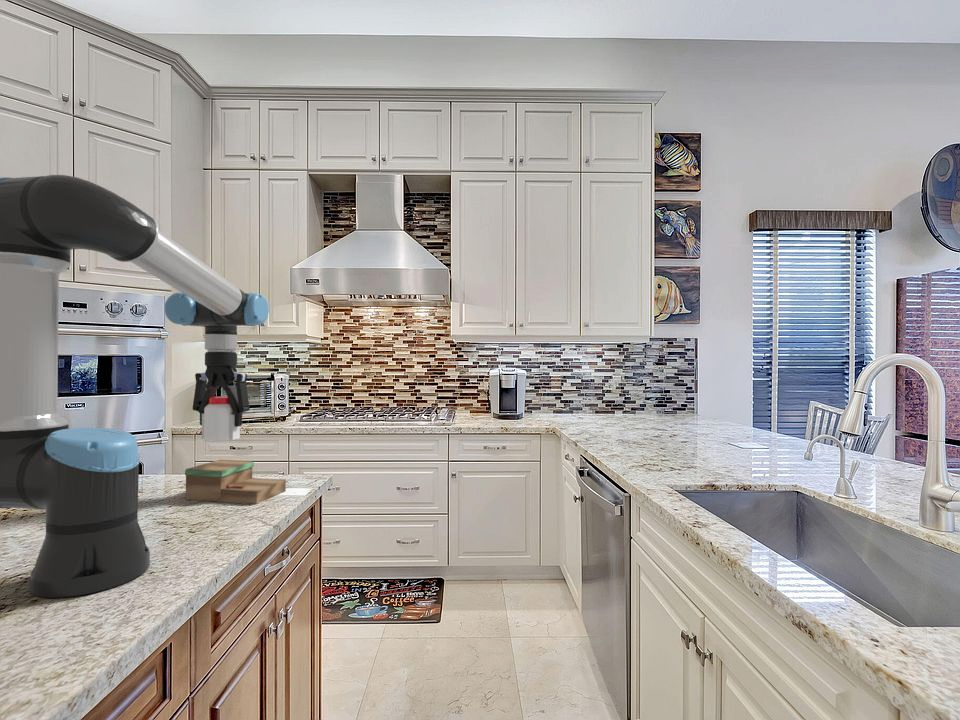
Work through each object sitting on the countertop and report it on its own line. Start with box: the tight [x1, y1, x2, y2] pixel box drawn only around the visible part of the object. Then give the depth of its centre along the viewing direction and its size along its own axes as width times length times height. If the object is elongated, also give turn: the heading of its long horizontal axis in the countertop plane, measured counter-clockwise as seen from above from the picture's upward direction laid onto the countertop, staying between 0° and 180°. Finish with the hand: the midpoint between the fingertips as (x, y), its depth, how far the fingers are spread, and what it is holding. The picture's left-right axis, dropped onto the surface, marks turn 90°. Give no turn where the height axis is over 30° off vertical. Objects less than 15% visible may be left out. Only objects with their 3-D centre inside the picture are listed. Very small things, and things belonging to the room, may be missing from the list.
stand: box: [184, 459, 287, 505], centre depth 127 cm, size 12×20×8 cm, turn 79°
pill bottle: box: [203, 395, 236, 443], centre depth 128 cm, size 8×8×11 cm
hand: (220, 438), depth 128 cm, fingers closed on pill bottle, 8 cm apart
